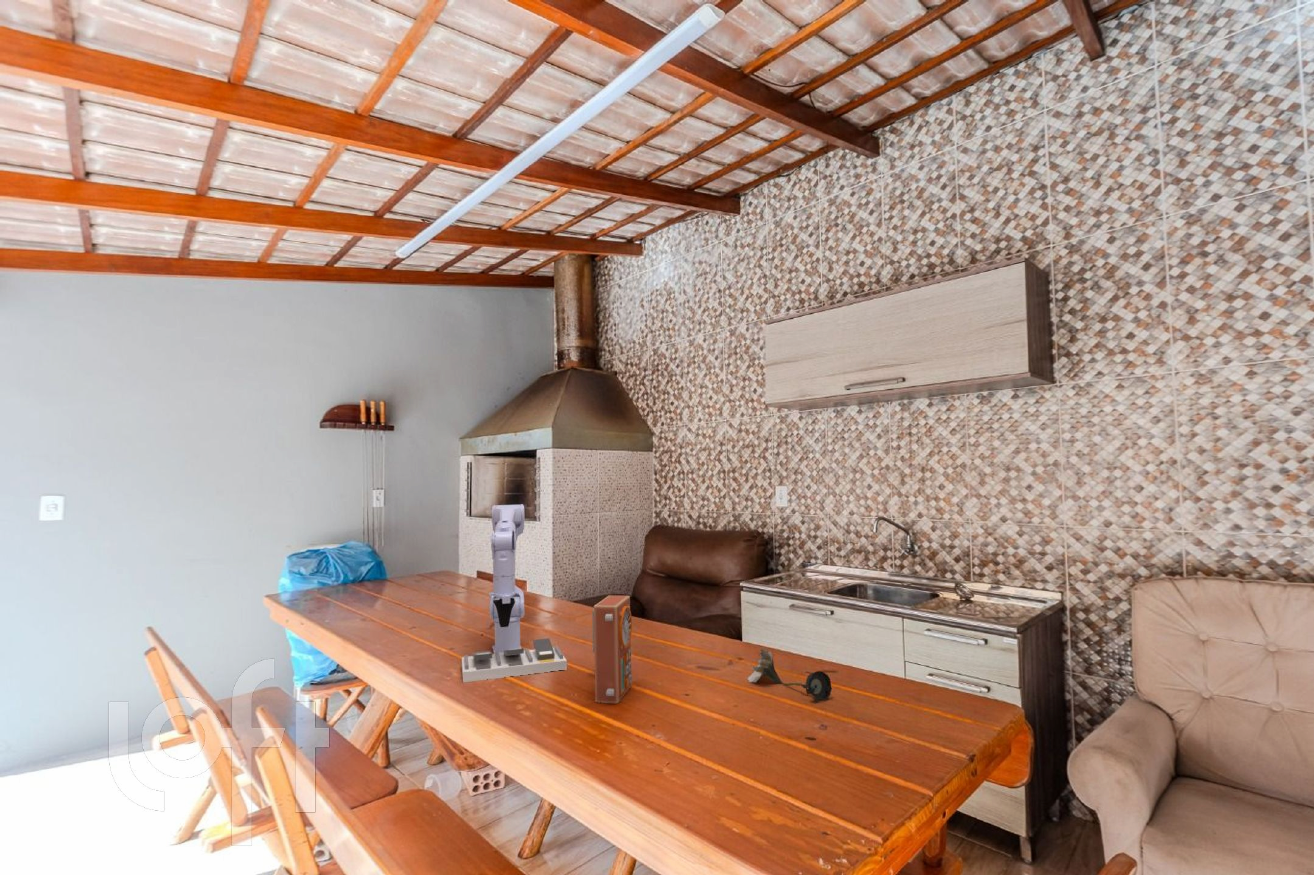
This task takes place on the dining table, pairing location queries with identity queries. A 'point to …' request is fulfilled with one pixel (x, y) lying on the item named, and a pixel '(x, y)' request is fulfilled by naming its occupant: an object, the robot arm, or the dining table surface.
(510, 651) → the middle rocker
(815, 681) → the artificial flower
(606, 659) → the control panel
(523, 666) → the switch board
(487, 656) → the rocker
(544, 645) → the block
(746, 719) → the dining table surface
